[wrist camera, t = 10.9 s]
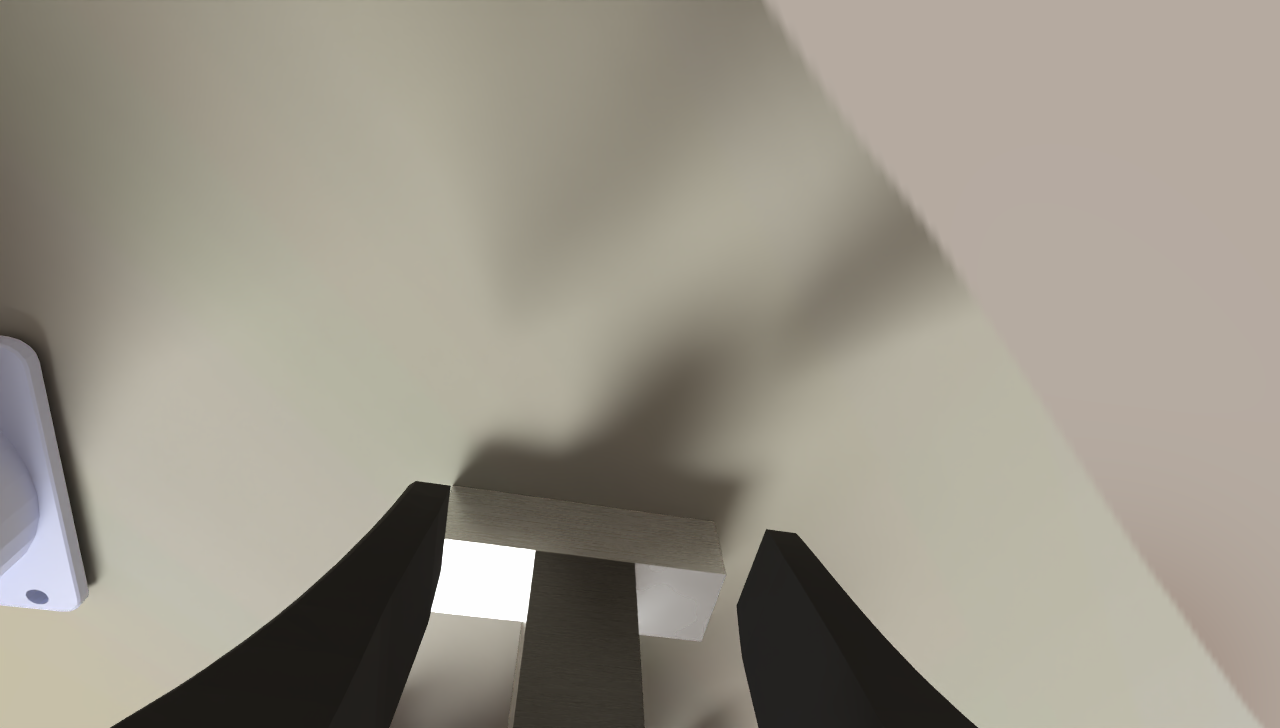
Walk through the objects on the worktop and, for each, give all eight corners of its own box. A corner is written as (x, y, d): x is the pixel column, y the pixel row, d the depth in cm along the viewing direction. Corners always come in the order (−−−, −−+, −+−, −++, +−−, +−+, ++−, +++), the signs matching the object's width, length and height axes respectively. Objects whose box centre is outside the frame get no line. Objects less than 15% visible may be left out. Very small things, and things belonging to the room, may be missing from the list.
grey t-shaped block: (445, 553, 18) (363, 832, 12) (453, 483, 17) (367, 750, 11) (692, 583, 19) (735, 855, 13) (714, 520, 18) (772, 782, 12)
